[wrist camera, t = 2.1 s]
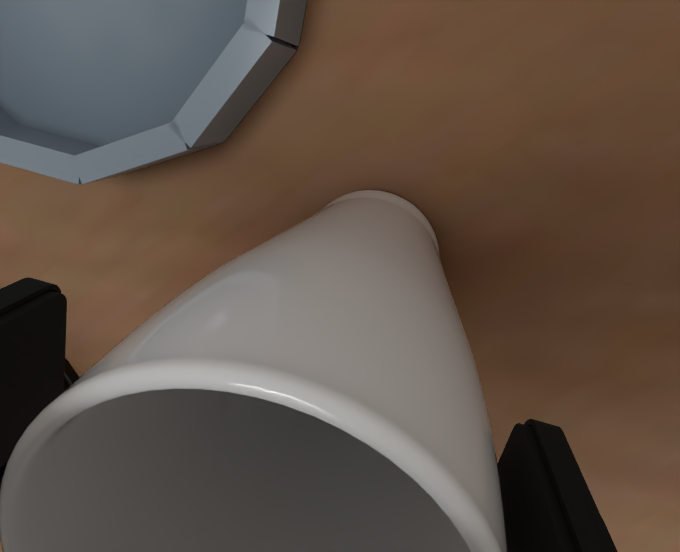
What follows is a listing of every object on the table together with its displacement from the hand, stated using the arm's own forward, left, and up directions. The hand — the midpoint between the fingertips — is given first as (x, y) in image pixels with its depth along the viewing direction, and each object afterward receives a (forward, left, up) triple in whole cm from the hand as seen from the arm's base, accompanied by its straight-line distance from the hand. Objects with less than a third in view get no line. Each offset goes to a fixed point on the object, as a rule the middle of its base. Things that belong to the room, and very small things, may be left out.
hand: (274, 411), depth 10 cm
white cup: (-1, 0, -11) cm, 11 cm away
